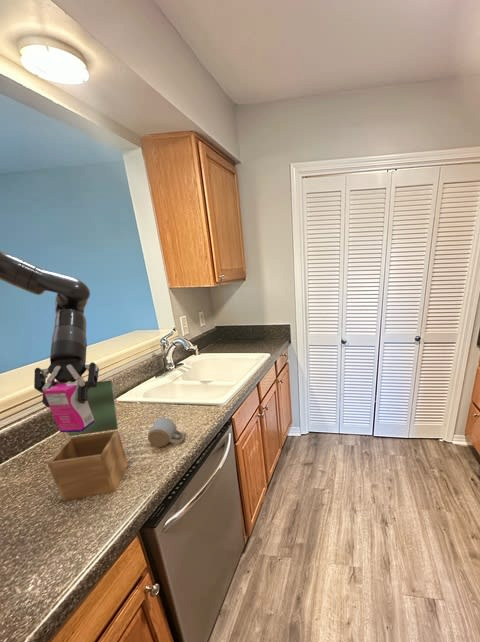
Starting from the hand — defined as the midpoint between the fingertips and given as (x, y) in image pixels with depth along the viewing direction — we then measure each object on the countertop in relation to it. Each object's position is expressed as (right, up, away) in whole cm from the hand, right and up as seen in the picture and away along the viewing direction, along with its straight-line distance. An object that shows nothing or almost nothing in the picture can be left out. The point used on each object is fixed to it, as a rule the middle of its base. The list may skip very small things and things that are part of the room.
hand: (65, 404), depth 79 cm
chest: (+1, -23, +12) cm, 26 cm away
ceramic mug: (+12, -14, +34) cm, 38 cm away
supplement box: (0, -6, +4) cm, 8 cm away
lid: (-2, -1, +13) cm, 13 cm away
